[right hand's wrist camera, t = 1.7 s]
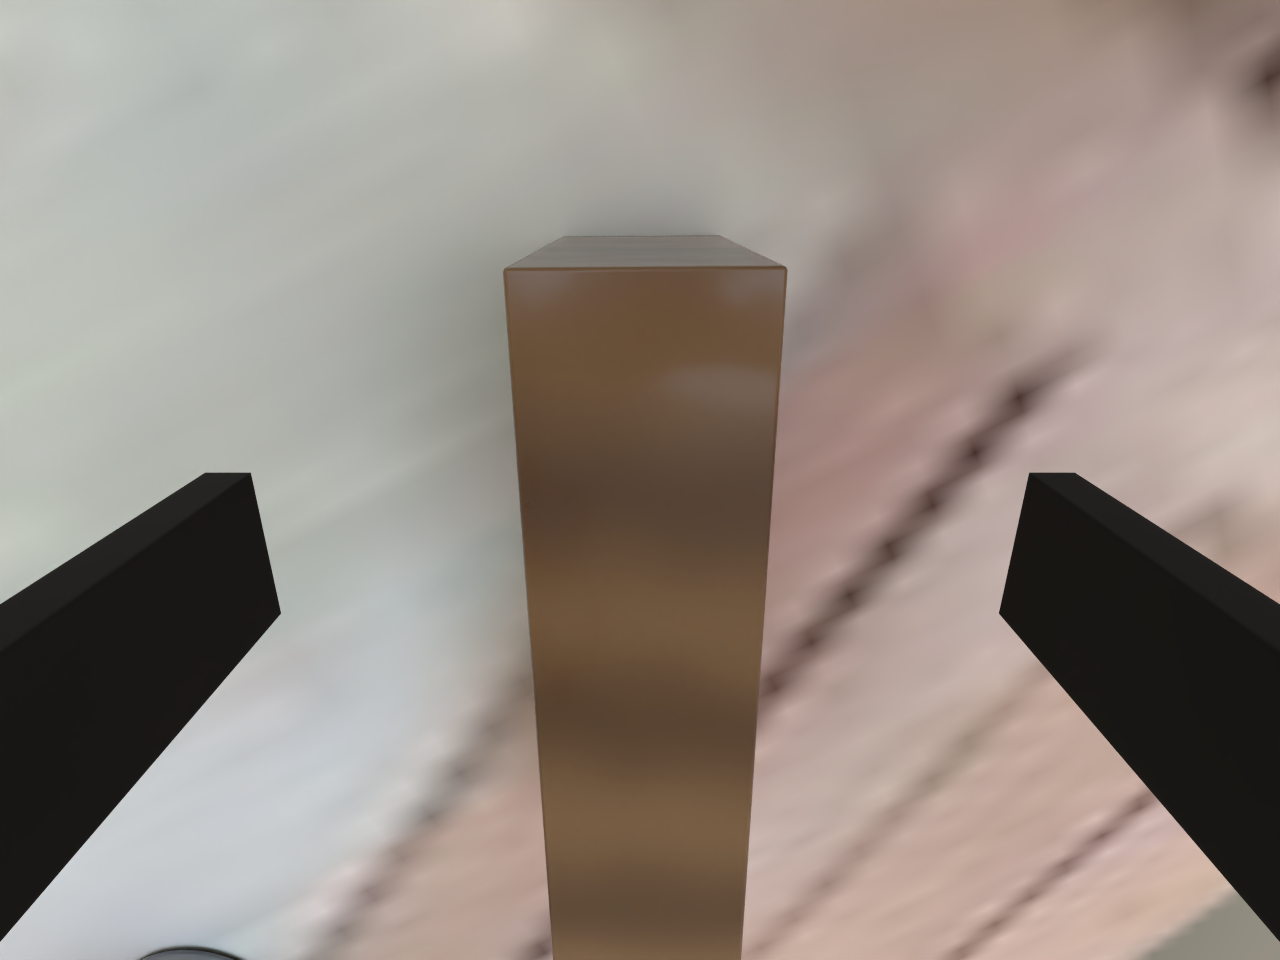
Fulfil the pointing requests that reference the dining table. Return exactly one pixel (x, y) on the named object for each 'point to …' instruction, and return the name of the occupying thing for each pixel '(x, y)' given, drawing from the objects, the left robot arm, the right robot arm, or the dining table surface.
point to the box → (646, 576)
